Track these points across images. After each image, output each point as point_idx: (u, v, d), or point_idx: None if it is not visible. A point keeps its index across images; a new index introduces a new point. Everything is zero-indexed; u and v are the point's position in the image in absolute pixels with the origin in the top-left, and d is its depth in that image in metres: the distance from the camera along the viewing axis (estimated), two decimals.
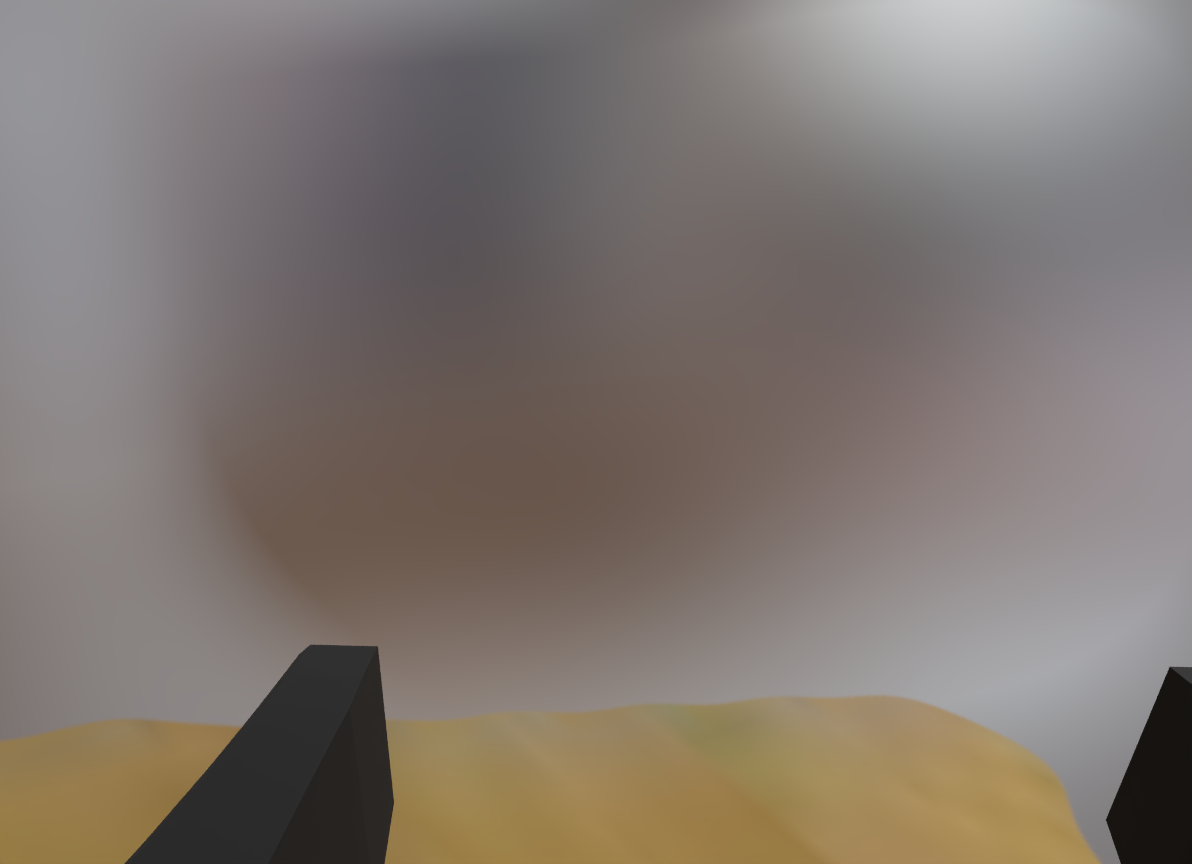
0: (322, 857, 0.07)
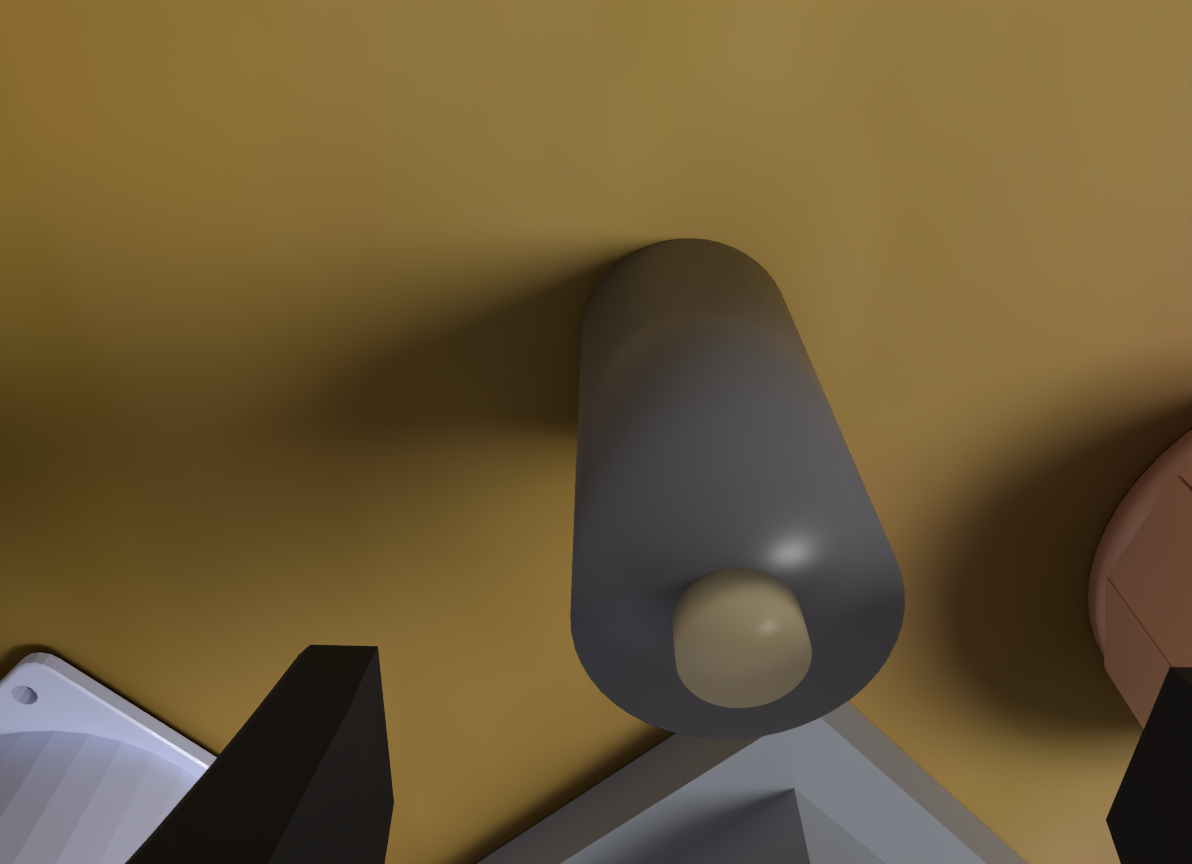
0: (322, 857, 0.07)
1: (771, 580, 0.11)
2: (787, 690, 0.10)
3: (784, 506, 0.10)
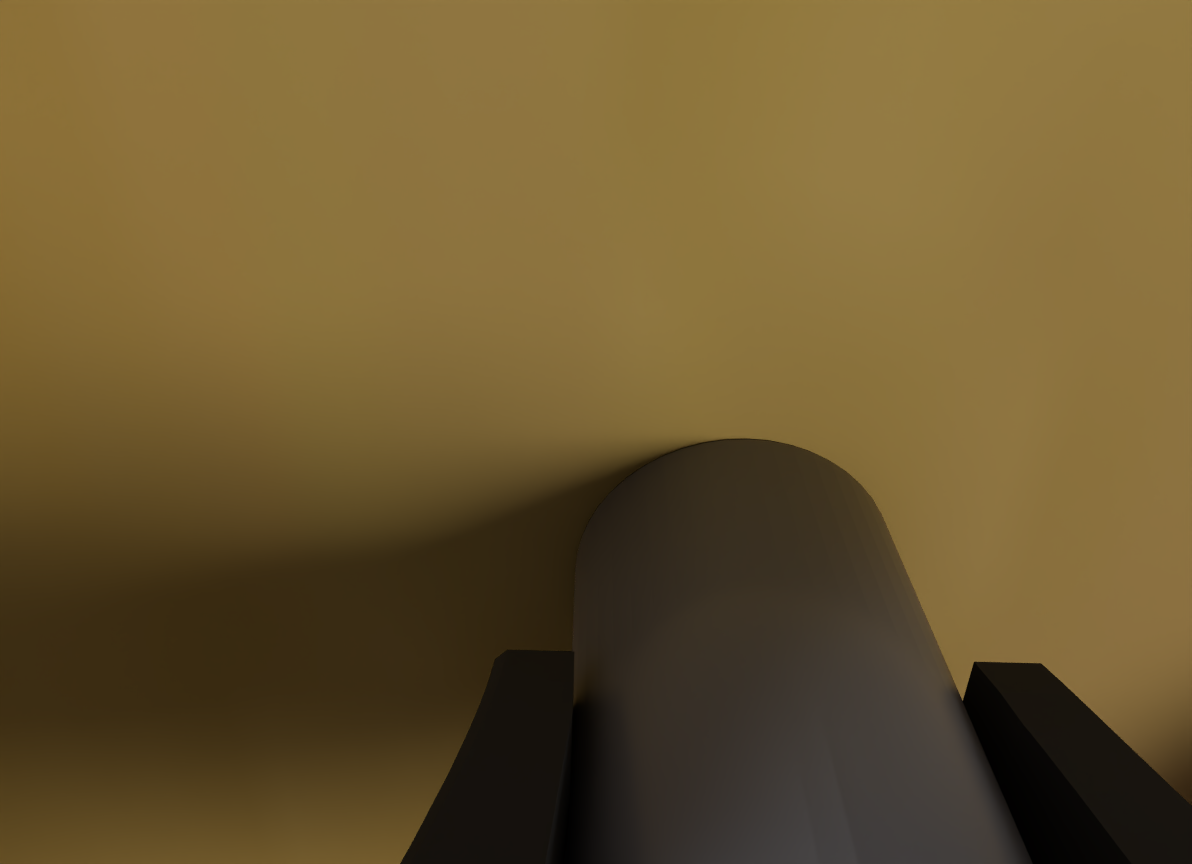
0: (558, 862, 0.07)
1: None
2: None
3: None
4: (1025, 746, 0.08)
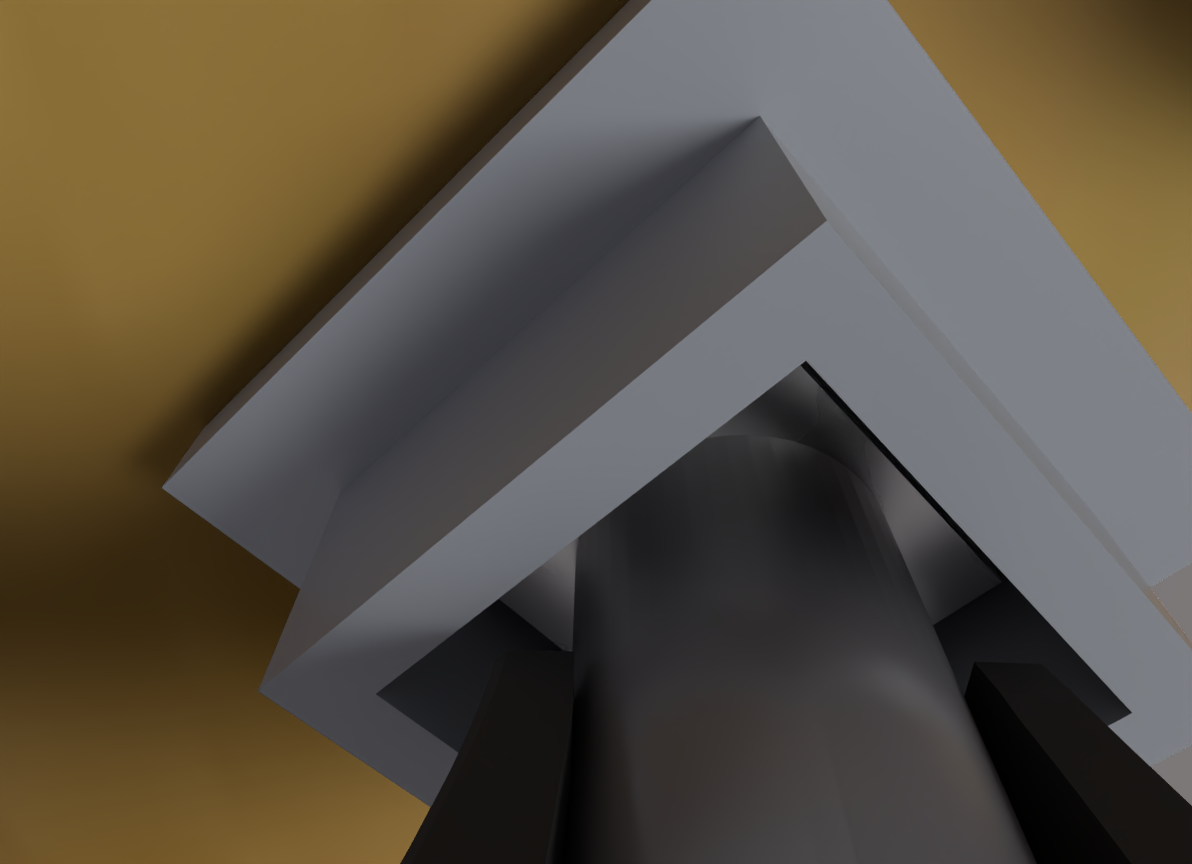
0: (557, 862, 0.07)
1: None
2: None
3: None
4: (1025, 746, 0.08)
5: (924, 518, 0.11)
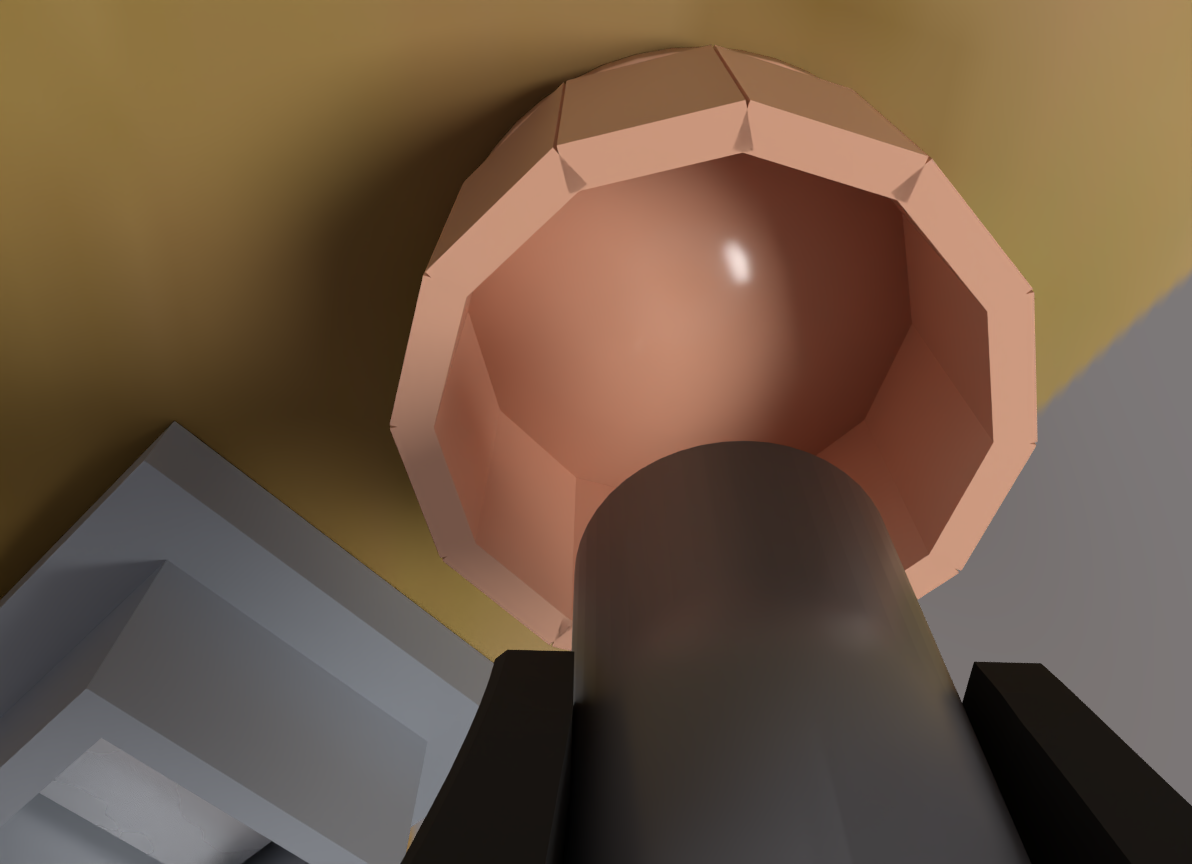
0: (558, 862, 0.07)
1: None
2: None
3: None
4: (1025, 746, 0.08)
5: None
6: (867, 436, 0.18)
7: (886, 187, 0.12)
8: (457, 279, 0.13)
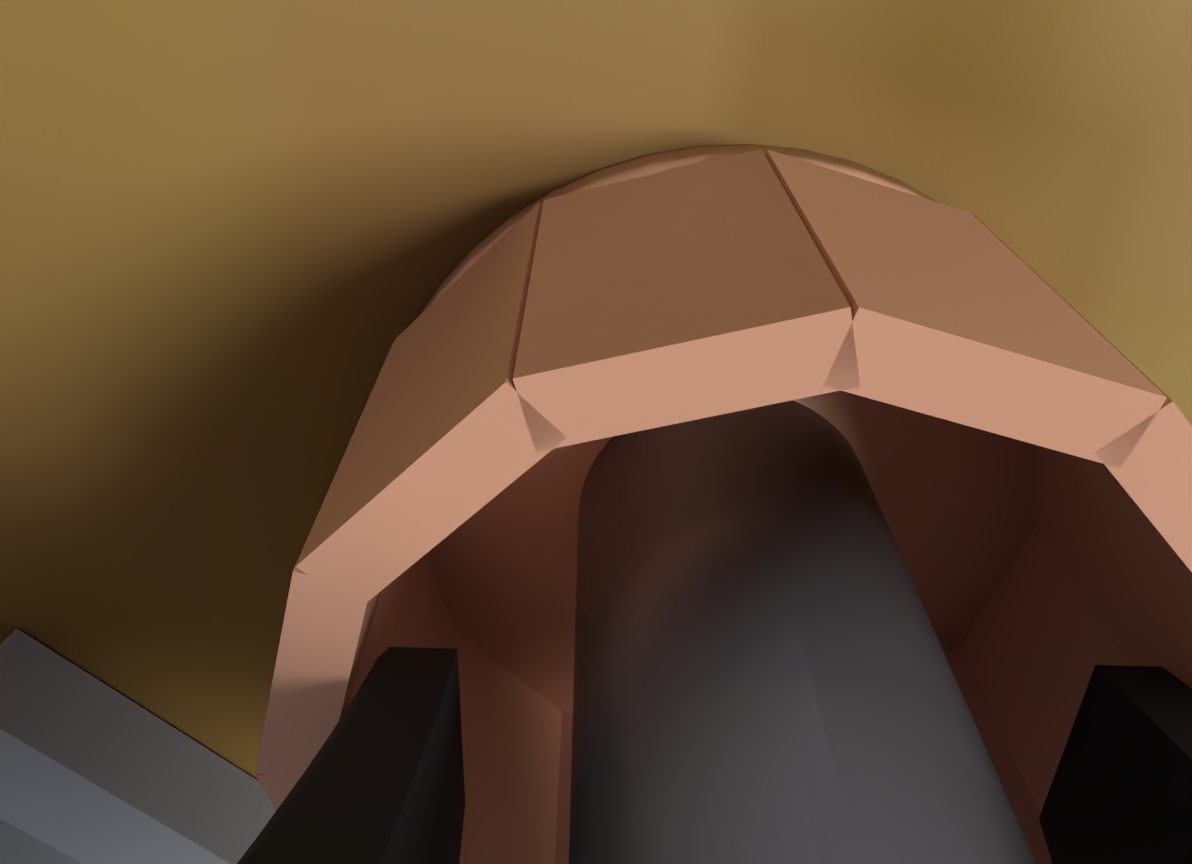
0: (418, 859, 0.07)
1: None
2: None
3: None
4: (1162, 749, 0.08)
5: None
6: (968, 675, 0.13)
7: (1088, 446, 0.07)
8: (350, 577, 0.08)
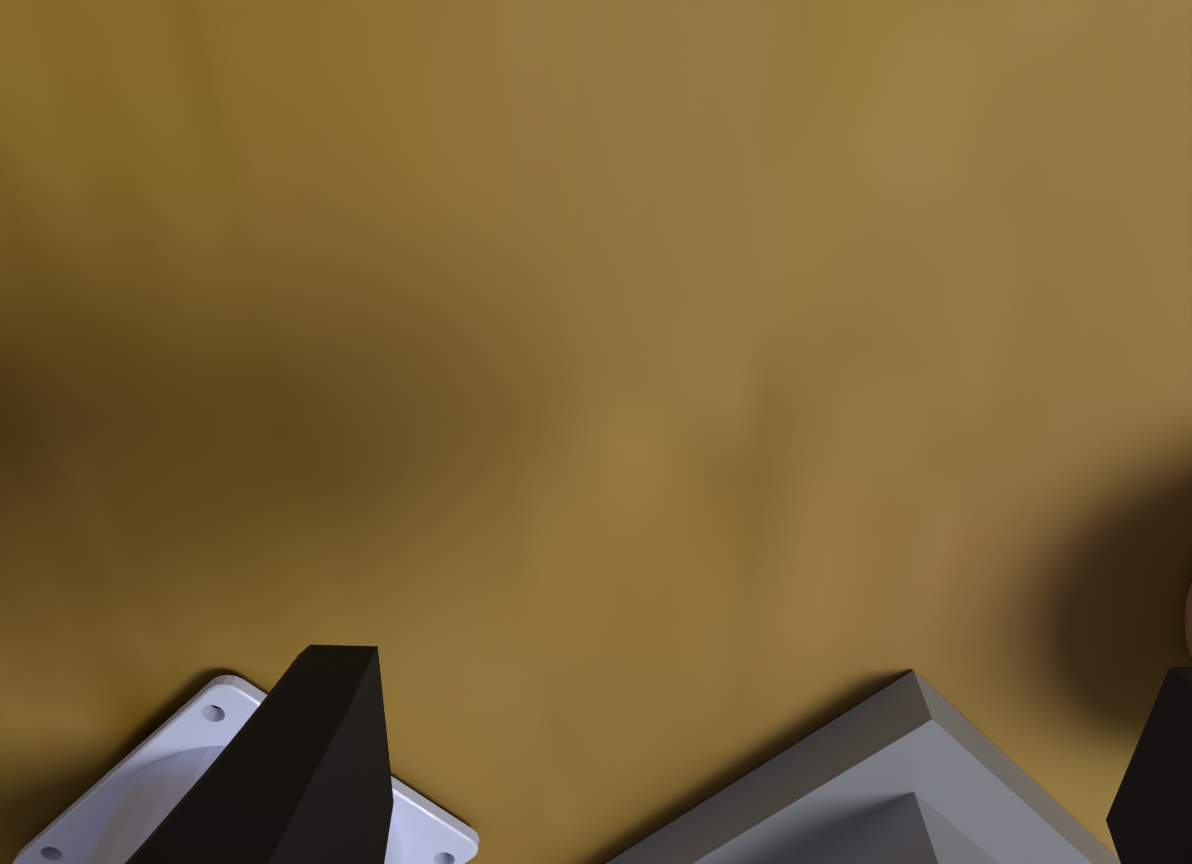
0: (322, 857, 0.07)
1: None
2: None
3: None
4: None
5: None
6: None
7: None
8: None
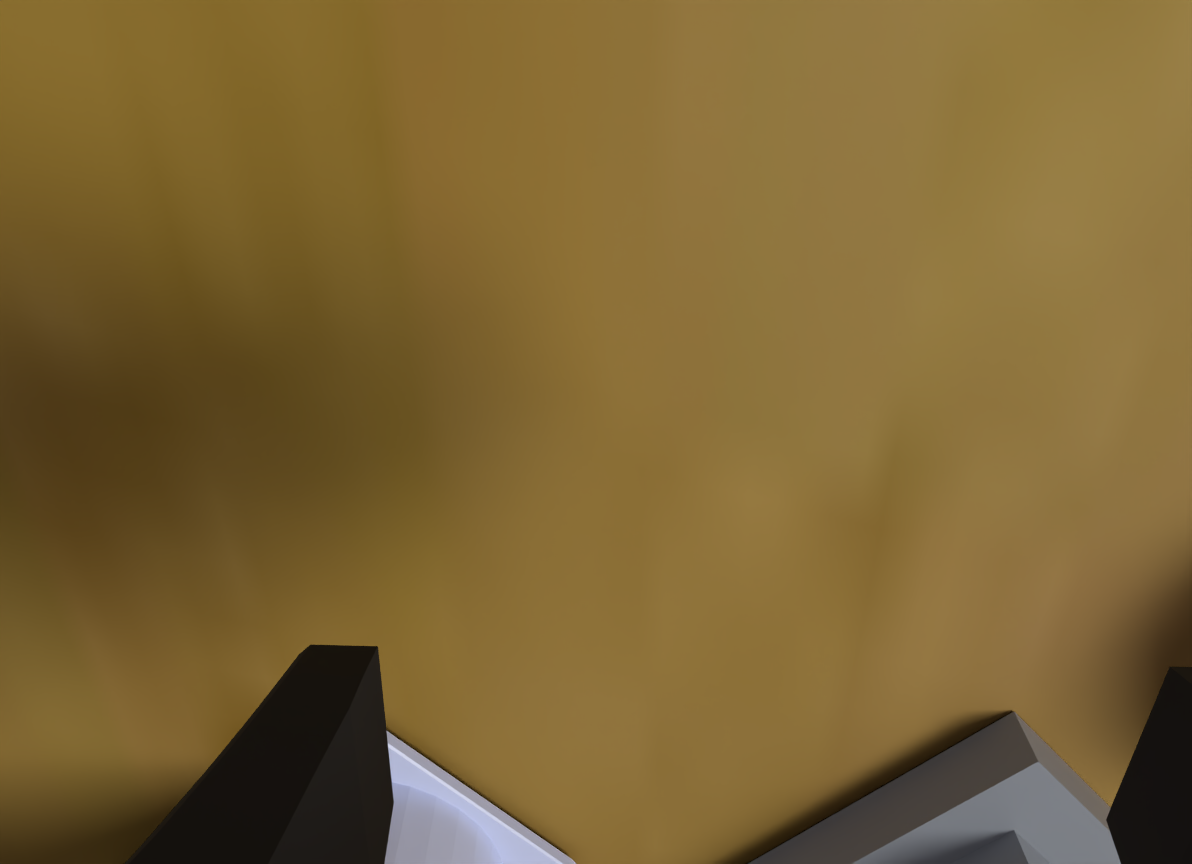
0: (322, 857, 0.07)
1: None
2: None
3: None
4: None
5: None
6: None
7: None
8: None
